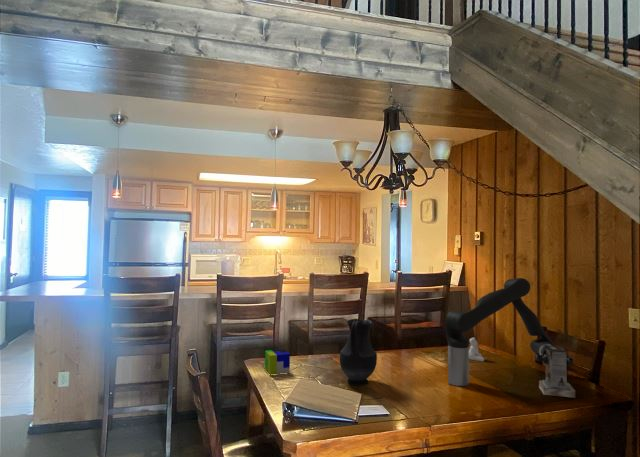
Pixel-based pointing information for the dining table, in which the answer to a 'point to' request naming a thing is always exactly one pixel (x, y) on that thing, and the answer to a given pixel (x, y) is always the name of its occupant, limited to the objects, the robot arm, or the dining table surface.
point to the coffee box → (556, 366)
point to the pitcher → (358, 353)
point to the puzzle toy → (277, 361)
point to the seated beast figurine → (474, 351)
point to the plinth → (556, 390)
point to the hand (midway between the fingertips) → (557, 363)
